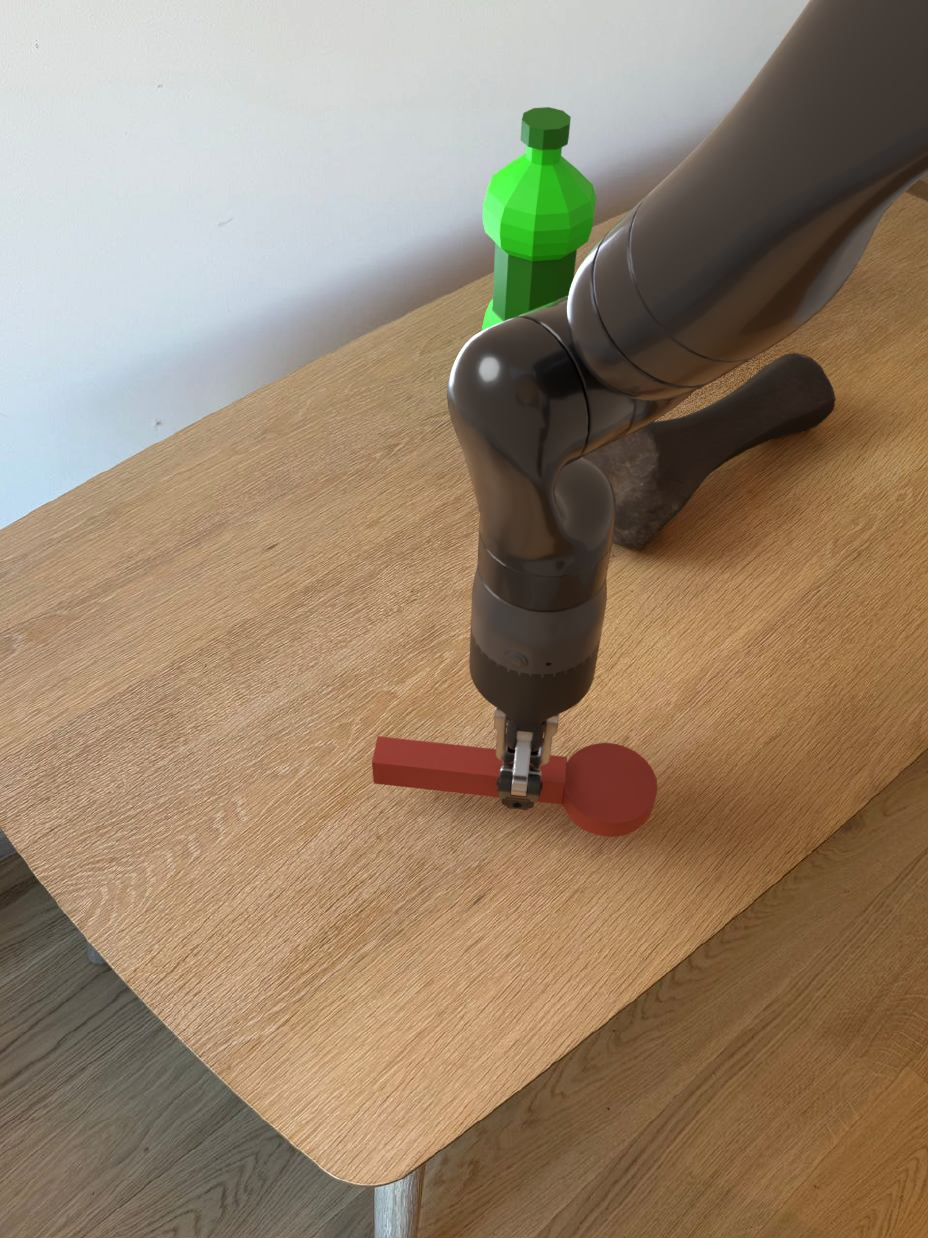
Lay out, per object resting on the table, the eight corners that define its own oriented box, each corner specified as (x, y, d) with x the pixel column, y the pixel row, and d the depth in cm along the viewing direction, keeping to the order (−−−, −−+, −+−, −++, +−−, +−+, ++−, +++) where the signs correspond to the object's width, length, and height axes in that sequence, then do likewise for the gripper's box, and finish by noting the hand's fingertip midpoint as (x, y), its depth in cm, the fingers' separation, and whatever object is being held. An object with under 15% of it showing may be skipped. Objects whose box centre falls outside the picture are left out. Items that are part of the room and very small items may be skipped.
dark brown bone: (603, 575, 96) (792, 468, 111) (671, 525, 87) (866, 417, 102) (537, 471, 97) (733, 379, 112) (598, 412, 88) (802, 320, 103)
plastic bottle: (597, 359, 113) (630, 118, 95) (529, 404, 108) (549, 159, 90) (526, 319, 118) (543, 80, 99) (457, 360, 113) (461, 117, 94)
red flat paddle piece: (367, 809, 74) (366, 789, 72) (383, 733, 78) (382, 711, 76) (653, 842, 73) (659, 822, 71) (653, 762, 77) (659, 741, 75)
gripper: (597, 725, 58) (567, 883, 71) (606, 541, 67) (579, 711, 80) (456, 709, 58) (452, 869, 71) (484, 529, 67) (476, 700, 80)
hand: (519, 785), depth 76 cm, fingers closed on red flat paddle piece, 2 cm apart
